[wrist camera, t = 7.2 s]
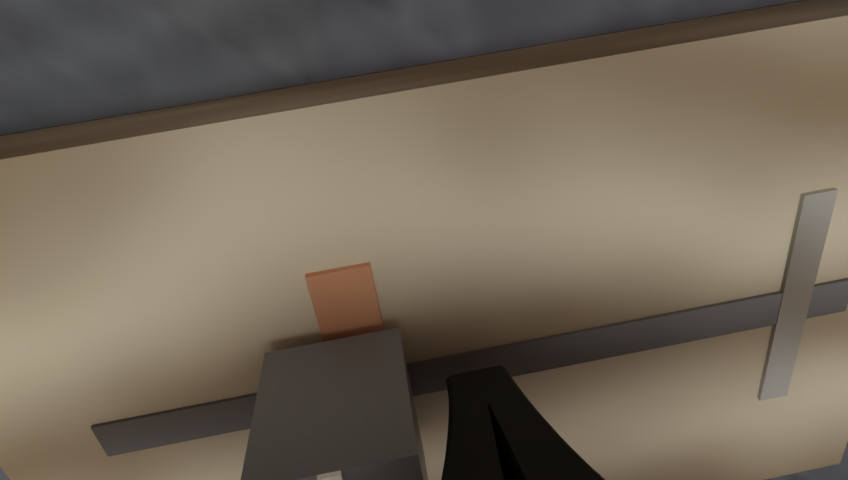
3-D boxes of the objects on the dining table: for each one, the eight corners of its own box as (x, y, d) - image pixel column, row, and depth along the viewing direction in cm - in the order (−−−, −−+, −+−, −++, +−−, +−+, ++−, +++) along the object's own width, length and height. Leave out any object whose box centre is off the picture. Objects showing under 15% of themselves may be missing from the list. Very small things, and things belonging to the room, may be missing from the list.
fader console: (795, 416, 19) (843, 467, 18) (135, 553, 18) (112, 622, 16) (910, -17, 13) (1010, -11, 11) (-124, 156, 12) (-215, 198, 10)
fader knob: (424, 450, 14) (446, 594, 11) (308, 473, 14) (297, 626, 11) (399, 327, 12) (418, 459, 9) (264, 353, 12) (236, 496, 9)
